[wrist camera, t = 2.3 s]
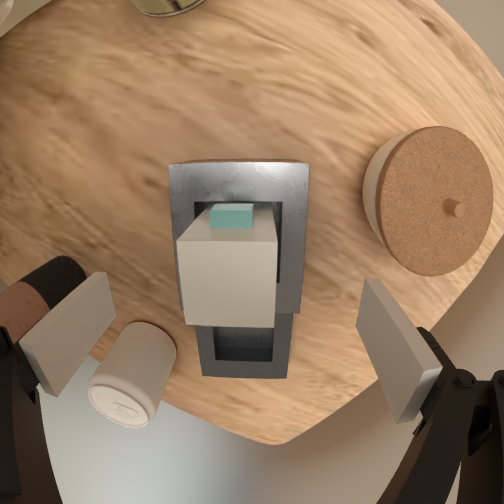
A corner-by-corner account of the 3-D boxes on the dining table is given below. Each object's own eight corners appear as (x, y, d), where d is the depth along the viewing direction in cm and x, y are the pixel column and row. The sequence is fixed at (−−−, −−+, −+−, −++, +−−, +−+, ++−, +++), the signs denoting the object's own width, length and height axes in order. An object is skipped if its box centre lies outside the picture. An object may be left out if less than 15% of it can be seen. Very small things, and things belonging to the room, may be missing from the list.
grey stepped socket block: (207, 354, 35) (196, 399, 28) (193, 160, 27) (168, 164, 19) (284, 357, 35) (288, 403, 27) (295, 159, 26) (308, 163, 19)
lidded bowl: (381, 264, 30) (426, 315, 20) (322, 170, 27) (358, 184, 16) (457, 204, 27) (518, 231, 17) (410, 109, 24) (474, 99, 13)
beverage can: (126, 309, 33) (83, 370, 22) (184, 334, 34) (157, 405, 23) (120, 351, 36) (85, 410, 25) (171, 373, 37) (147, 438, 26)
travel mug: (89, 312, 34) (8, 413, 15) (49, 291, 33) (-37, 373, 14) (92, 265, 31) (-14, 364, 13) (49, 245, 31) (-58, 320, 12)
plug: (214, 255, 26) (185, 324, 16) (212, 189, 24) (174, 221, 13) (269, 256, 26) (273, 327, 15) (271, 189, 24) (278, 221, 13)
